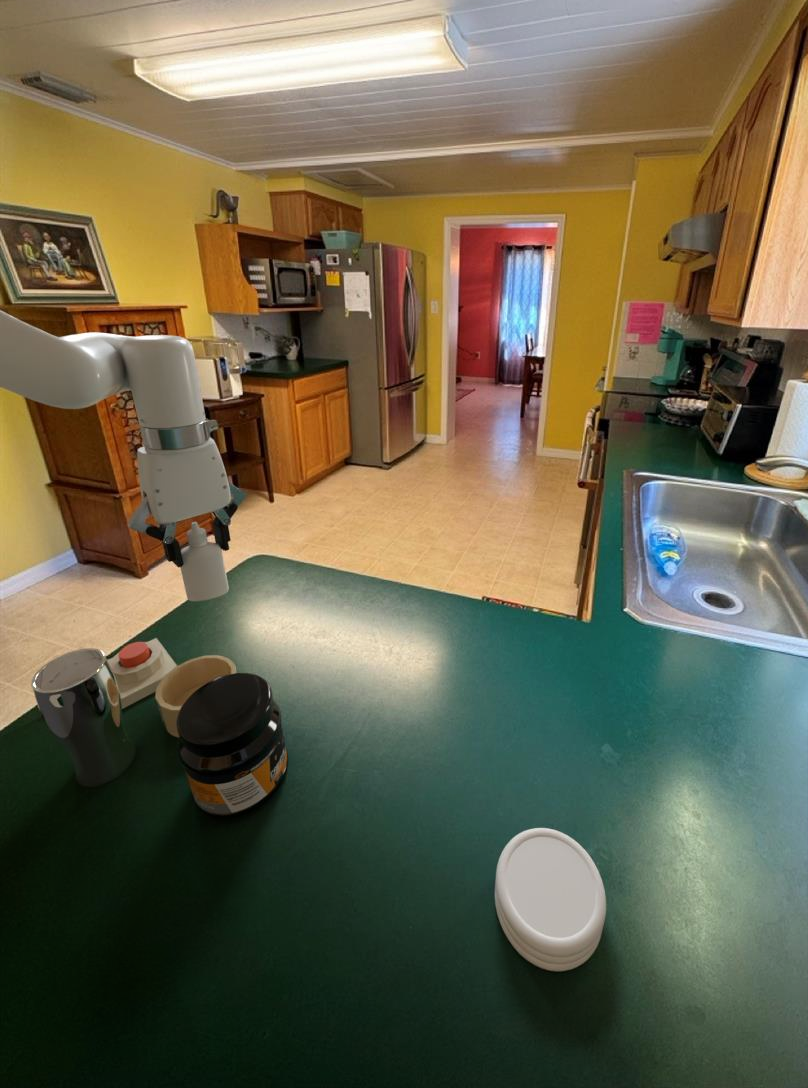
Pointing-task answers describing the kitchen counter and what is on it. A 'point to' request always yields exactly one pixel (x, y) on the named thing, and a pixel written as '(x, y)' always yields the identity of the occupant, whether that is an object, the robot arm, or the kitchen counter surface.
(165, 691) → the holder
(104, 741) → the silver rounded piece
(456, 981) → the kitchen counter surface
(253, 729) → the supplement container
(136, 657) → the button
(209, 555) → the eye dropper bottle
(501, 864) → the coaster
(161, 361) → the robot arm
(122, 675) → the button base
